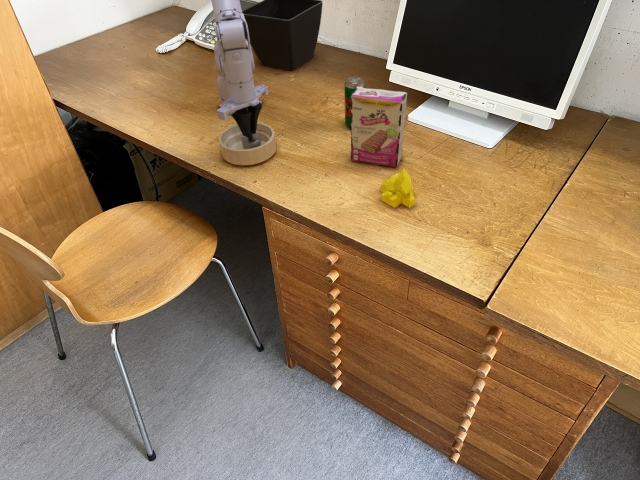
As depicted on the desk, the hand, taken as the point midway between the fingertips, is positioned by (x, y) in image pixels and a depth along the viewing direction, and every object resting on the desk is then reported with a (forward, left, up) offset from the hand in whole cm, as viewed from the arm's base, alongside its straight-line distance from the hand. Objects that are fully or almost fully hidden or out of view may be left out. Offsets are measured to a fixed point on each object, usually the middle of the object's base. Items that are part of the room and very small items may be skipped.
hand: (249, 134), depth 112 cm
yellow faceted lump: (+38, +3, -5) cm, 38 cm away
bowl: (-1, 0, -5) cm, 5 cm away
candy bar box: (+27, +13, -5) cm, 30 cm away
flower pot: (-28, +48, -5) cm, 55 cm away
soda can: (+14, +24, -5) cm, 28 cm away
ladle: (0, 0, -3) cm, 3 cm away
